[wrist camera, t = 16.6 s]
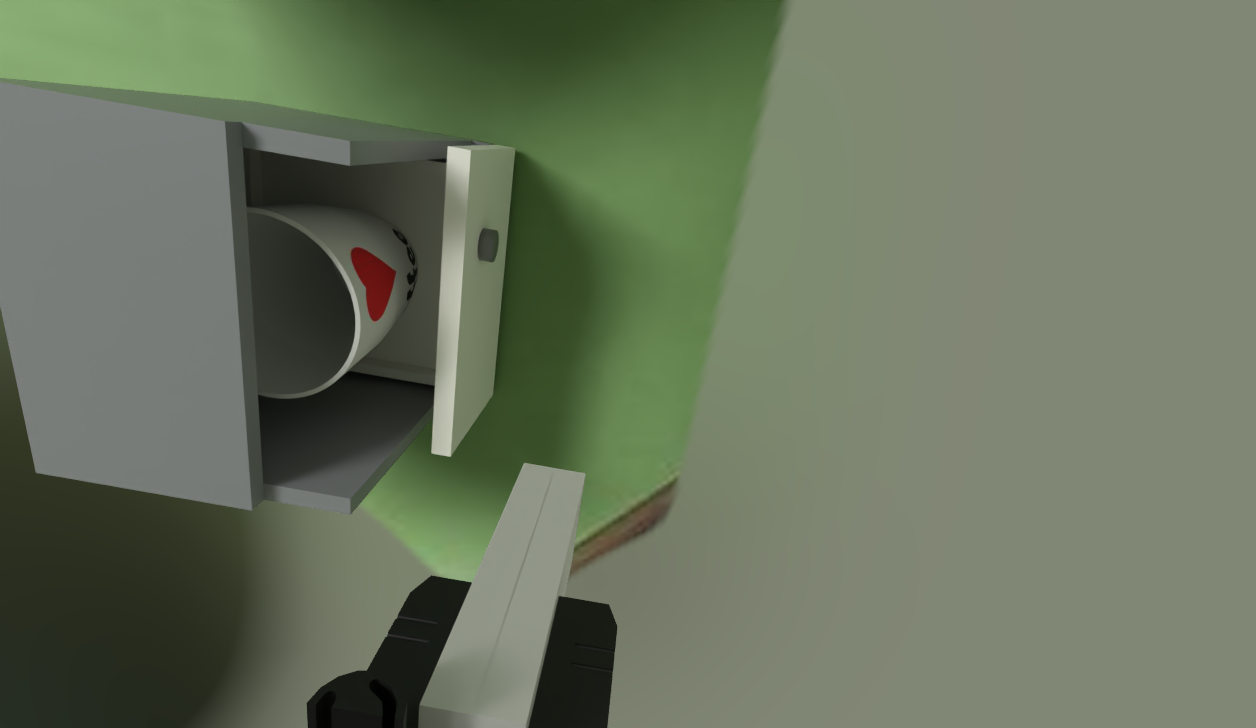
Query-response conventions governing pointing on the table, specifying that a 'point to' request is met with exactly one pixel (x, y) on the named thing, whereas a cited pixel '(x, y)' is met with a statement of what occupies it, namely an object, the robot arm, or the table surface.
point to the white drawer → (423, 262)
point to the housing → (175, 299)
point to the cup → (322, 292)
